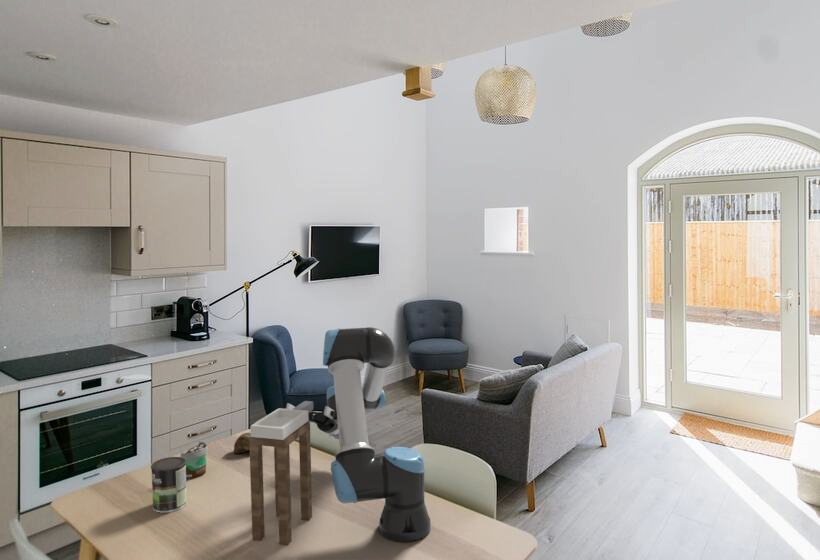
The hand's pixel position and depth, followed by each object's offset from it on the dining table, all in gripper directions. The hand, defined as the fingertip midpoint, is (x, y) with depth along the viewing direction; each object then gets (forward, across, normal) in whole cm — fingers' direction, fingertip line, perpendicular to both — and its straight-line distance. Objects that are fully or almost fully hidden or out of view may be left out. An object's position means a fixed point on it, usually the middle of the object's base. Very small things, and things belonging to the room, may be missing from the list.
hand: (306, 408), depth 173 cm
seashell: (-42, +42, -11) cm, 61 cm away
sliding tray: (+10, 0, -6) cm, 12 cm away
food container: (-22, +48, -22) cm, 57 cm away
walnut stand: (0, 0, -35) cm, 35 cm away
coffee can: (-3, +42, -34) cm, 54 cm away
